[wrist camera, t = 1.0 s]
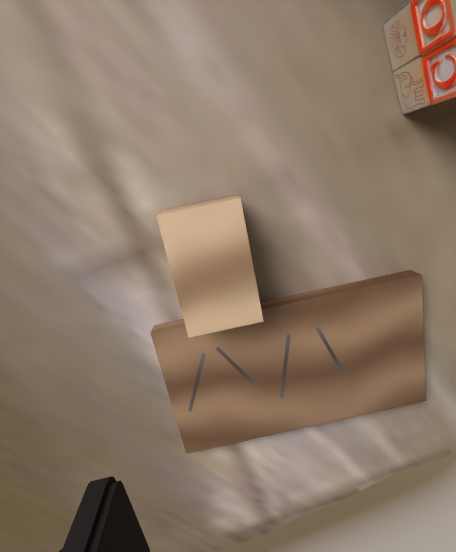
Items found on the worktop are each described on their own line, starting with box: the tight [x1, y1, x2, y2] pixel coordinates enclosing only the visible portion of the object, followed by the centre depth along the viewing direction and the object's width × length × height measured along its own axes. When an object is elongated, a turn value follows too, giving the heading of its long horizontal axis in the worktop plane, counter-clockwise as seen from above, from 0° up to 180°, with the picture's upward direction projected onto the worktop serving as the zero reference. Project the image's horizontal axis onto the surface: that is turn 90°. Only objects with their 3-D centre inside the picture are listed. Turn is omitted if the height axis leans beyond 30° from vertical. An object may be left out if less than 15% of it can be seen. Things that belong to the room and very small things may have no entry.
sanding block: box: [157, 195, 264, 338], centre depth 23 cm, size 8×5×6 cm, turn 12°
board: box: [151, 270, 426, 454], centre depth 28 cm, size 12×22×2 cm, turn 102°
